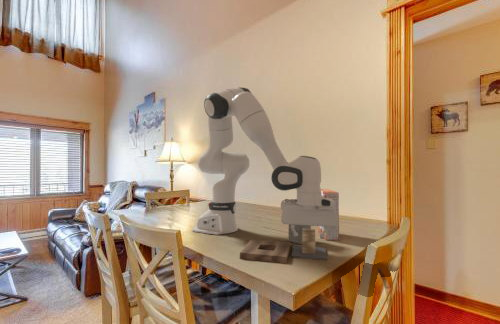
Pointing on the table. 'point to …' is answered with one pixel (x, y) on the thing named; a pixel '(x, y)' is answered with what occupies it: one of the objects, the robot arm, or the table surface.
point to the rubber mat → (319, 253)
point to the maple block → (308, 241)
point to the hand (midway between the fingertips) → (308, 237)
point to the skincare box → (299, 229)
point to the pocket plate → (266, 251)
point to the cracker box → (334, 231)
